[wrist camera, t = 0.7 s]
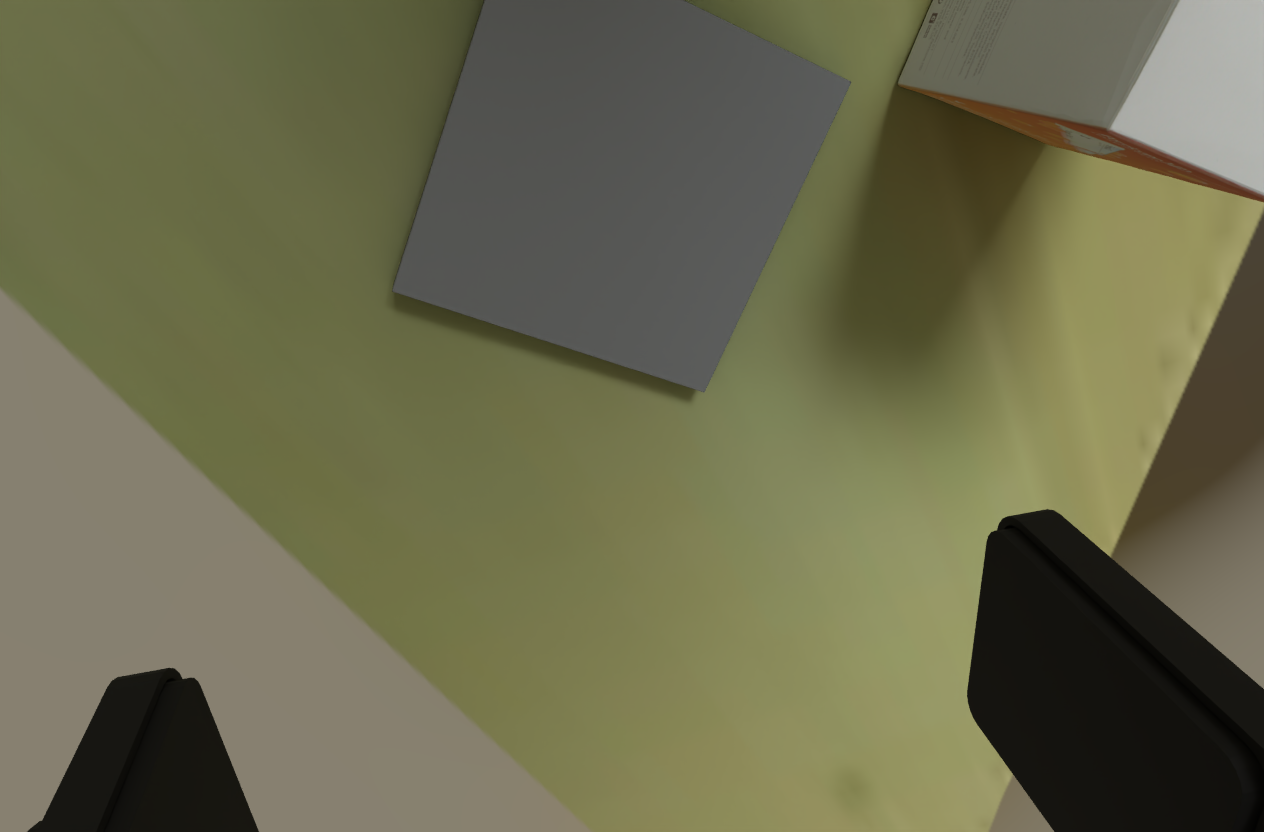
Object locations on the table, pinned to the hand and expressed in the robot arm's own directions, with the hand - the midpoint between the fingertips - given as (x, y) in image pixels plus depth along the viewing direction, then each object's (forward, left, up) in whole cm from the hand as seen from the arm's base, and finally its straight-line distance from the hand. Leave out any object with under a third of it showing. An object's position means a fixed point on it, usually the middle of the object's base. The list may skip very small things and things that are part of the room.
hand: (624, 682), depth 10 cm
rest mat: (-2, +4, -27) cm, 28 cm away
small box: (-13, +17, -28) cm, 35 cm away
